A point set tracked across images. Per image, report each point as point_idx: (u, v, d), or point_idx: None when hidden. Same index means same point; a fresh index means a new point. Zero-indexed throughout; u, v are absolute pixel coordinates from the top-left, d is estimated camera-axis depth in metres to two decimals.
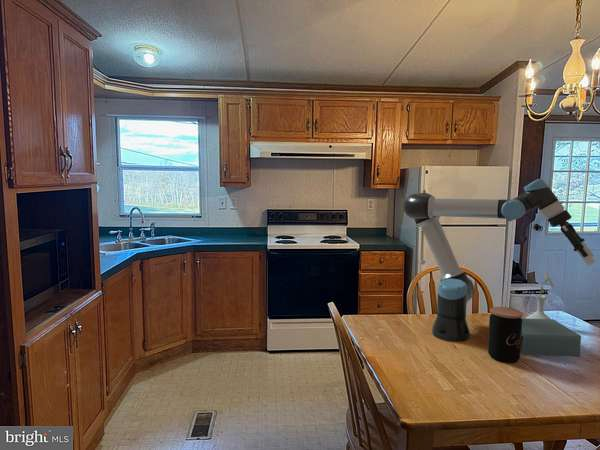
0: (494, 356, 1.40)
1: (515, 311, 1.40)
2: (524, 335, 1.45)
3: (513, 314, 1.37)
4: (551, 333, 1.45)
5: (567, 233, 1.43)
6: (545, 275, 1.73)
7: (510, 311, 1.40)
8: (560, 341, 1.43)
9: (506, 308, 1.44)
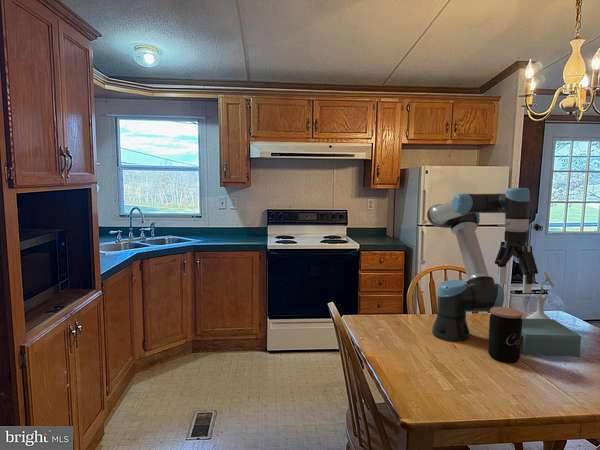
0: (494, 356, 1.40)
1: (515, 311, 1.40)
2: (524, 335, 1.45)
3: (513, 314, 1.37)
4: (551, 333, 1.45)
5: None
6: (545, 275, 1.73)
7: (510, 311, 1.40)
8: (560, 341, 1.43)
9: (506, 308, 1.44)
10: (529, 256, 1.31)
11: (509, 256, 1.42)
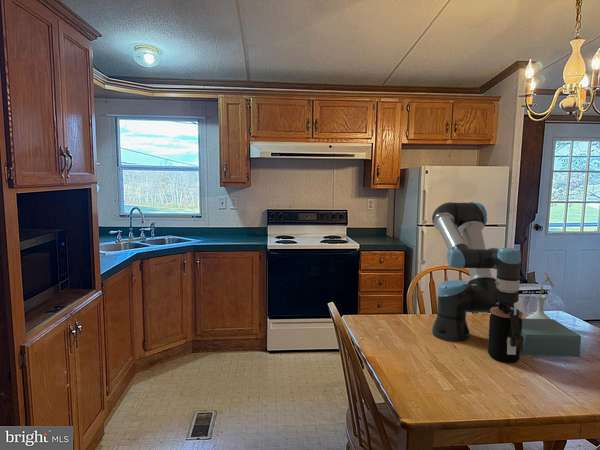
0: (494, 356, 1.40)
1: None
2: (524, 335, 1.45)
3: None
4: (551, 333, 1.45)
5: None
6: (545, 275, 1.73)
7: None
8: (560, 341, 1.43)
9: None
10: (514, 320, 1.34)
11: None
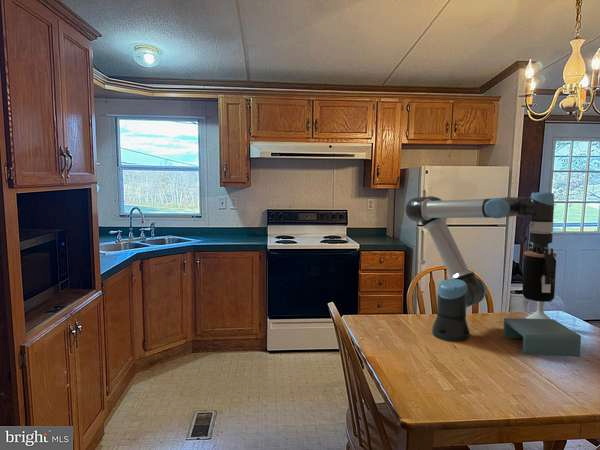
0: (529, 296, 1.47)
1: None
2: (524, 335, 1.45)
3: None
4: (551, 333, 1.45)
5: None
6: None
7: None
8: (560, 341, 1.43)
9: None
10: (548, 258, 1.40)
11: None
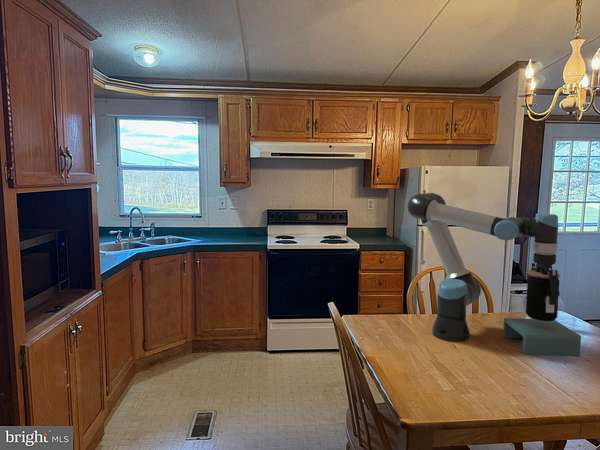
0: (533, 315, 1.49)
1: None
2: (524, 335, 1.45)
3: None
4: (551, 333, 1.45)
5: None
6: None
7: None
8: (560, 341, 1.43)
9: None
10: (553, 279, 1.43)
11: None
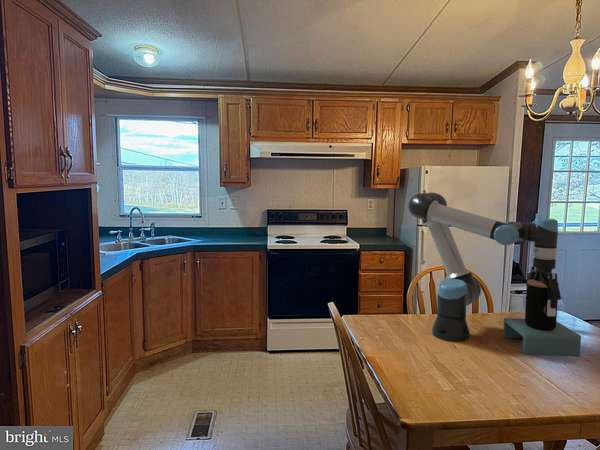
0: (532, 324, 1.50)
1: None
2: (524, 335, 1.45)
3: None
4: (551, 333, 1.45)
5: None
6: None
7: None
8: (560, 341, 1.43)
9: None
10: (553, 283, 1.43)
11: None
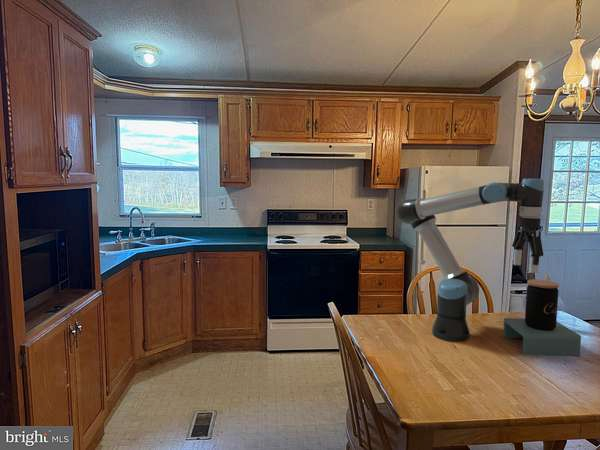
0: (532, 324, 1.50)
1: (551, 282, 1.50)
2: (524, 335, 1.45)
3: (550, 284, 1.47)
4: (551, 333, 1.45)
5: None
6: (545, 275, 1.73)
7: (547, 282, 1.50)
8: (560, 341, 1.43)
9: (542, 280, 1.53)
10: (536, 240, 1.46)
11: (523, 240, 1.58)
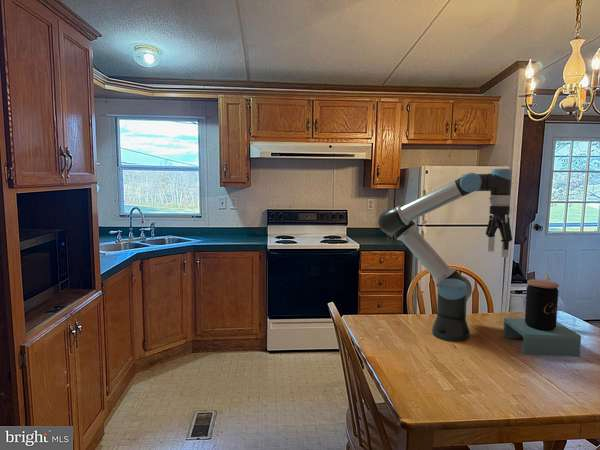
0: (532, 324, 1.50)
1: (551, 282, 1.50)
2: (524, 335, 1.45)
3: (550, 284, 1.47)
4: (551, 333, 1.45)
5: None
6: (545, 275, 1.73)
7: (546, 282, 1.50)
8: (560, 341, 1.43)
9: (542, 280, 1.54)
10: (505, 226, 1.55)
11: (495, 227, 1.67)
